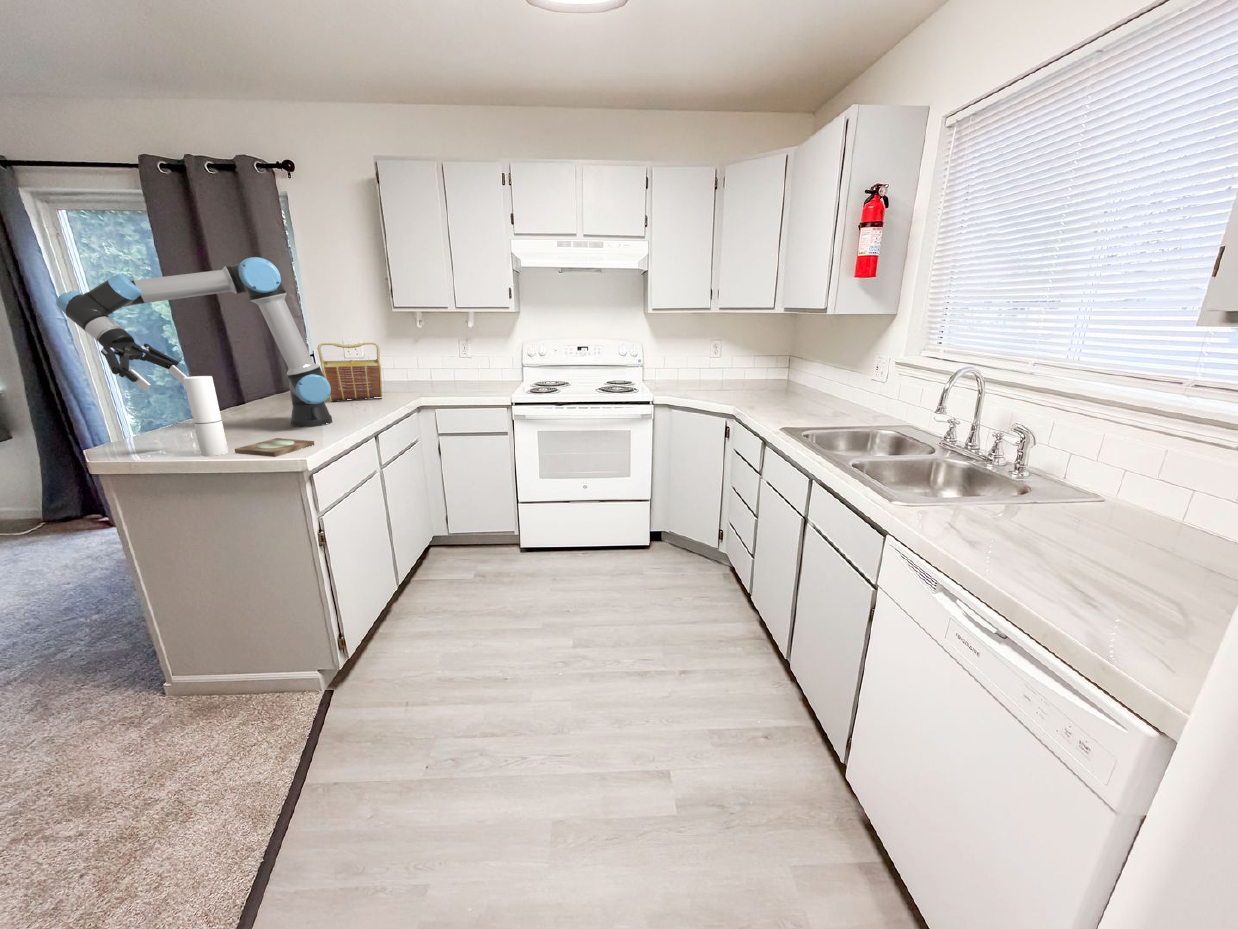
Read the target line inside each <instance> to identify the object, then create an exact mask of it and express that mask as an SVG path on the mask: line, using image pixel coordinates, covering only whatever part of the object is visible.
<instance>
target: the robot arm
mask: <svg viewBox="0 0 1238 929" xmlns="http://www.w3.org/2000/svg"><path fill="white" fill-rule="evenodd" d="M281 277H282V276H281V274H280V271H279V269H278V268H277V266H275V265H274V264H273V263H272V262H271V261H270V260H267V259H265V258H262V257H257V256H254V257H248V258H244V260H242V261H241V262H240V263H236V264H233V265H228V266H227V265H225V266H223V268H222V269H218V270H209V271H200V272H195V273H194V272H193V273H185V274H176V275H175V274H174V275H167V276H157V277H150V278H142V279H135V280H134V279H133V280H129V279H128V278H127V277H126V276H125V275H124V274H121V273H119V274H116V275H114V276H112V277H109V278H108V279H107V280H105V281H103V282H102V283H100V284H98V285H97V286H96V287H95V286H94V288H92V289H91V290H89V291H87V292H84V293H82V292H81V291H77V290H70V291H68V292H64V293H62V294H60V295H59V296H58V297H57V298H56V306H57V308H58V309H59V310H61V311H62V313H64V314H65V316H66V317H67V318H69V319H70V320H71V321H73V323H75V324H76V325H77V326H78V327H79V328H81V329H82V330H83V331H85V333H87V334H88V335H89V336H91V338H93V339H94V340H95V341H96V342H98V343H99V344H100V345H101V346H102V349H101V350H100V353H101V354H102V355H103V356H104V357H105V360H106V361H107V364H108V366H109V369H110V372H111V373H112V375H118V376H119V377H120V378H124V377H125V378H127V379H128V380H129V381H130V382H132V383H134V384H135V385H137V387H139V388H140V389H141V390H142V391H143V392H147V391H148V389H150V387H151V386H152V384H151V383H150V382H148V381H147V380H146V379H145V378H144V377H143V376H141V374H139V373H138V372H137V371H136V370H134V369H130V361H134V360H137V361H138V360H139V361H143V362H145V361H146V362H149V363H151V364H154V365H156V366H158V367H161V368H164V369H166V370H167V372H168V373H169V374H170V375H172V376H173V377H174V378H175V379H176V380H177V381H179V382H180V383H181V384H182V385H183V386H185V384H184V380H183V378H185V377H188V376H187V375H186V374H185V373H184V372H183V370H181V369H180V368H179V367H178V365H179V363H180V362H179V361H178V360H176V359H174V358H173V357H170V356H169V355H167V354H165V353H163V352H162V351H159V350H157V349H156V348H154V347H153V346H152V345H150V344H149V343H146V342H145V343H144V344H143V345H139V344H137V343H136V342H135V339H134V337H133V336H132V335H131V334H130V333H129V332H127V330H125V329H124V328H122V326H121V325H119V323H117V321H115V320H113V318H111V317H110V316H109V315H112V314H113V313H114V312H116V311H118V310H119V309H121V308H123V307H130V306H135V305H143V304H148V303H156V302H163V301H164V302H165V301H170V300H171V301H172V300H178V299H179V300H180V299H185V298H191V297H200V296H207V295H215V294H223V293H230V292H232V293H234V294H235V295H236V294H246V293H247V295H248V298H249V300H250V302H252V303H253V304H256V305H257V306H258V308H259V309H260V311H261V314H262V316H263V317H264V320H265V322H266V324H267V326H268V328H269V330H270V333H271V335H272V337H273V339H274V341H275V343H276V346H277V347H278V349H279V351H280V354H281V356H282V358H283V359H284V362H285V364H286V367H287V368H288V370H287V372H286V378H287V380H288V381H287V382H288V387H289V392H290V399H291V405H292V407H291V408H292V410H291V417H290V418H289V422H290V426H292V425H293V426H292V427H296V426H309V427H316V426H315V425H319V426H323V425H322V424H325V425H327V424H326V423H329V424H331V423H333V417H332V415H331V414H330V411H329V409H328V406H326V405H327V404H326V401H327V400H329V396H330V393H331V387H330V384H329V382H328V381H327V380H326V379H325V377H324V375H323V371H322V367H320V366H321V365H320V364H317V363H315V362H314V361H313V360H312V357H311V355H310V352H309V350H308V348H307V346H306V344H305V342H304V340H303V337H302V335H301V332H300V330H299V328H298V326H297V324H296V322H295V319H294V317H293V316H292V313H291V311H290V309H289V306H288V304H287V302H286V300H285V298H286V296H287V291H286V289H285V287H284V284H283V283H282V278H281ZM117 356H118V357H117ZM118 358H119V360H118Z"/></svg>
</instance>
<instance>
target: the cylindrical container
mask: <svg viewBox="0 0 1238 929" xmlns="http://www.w3.org/2000/svg"><path fill="white" fill-rule="evenodd" d="M183 380H184V384H185V385H184V388H185V392H186V395H187V399H188V400H187V401H188V404H189V409H190V413H191V417H192V421H193V425H194V430H195V436H196V438H197V443H198V448H199V450H200V451H199V452H200V455H202V457H215V455H218V456H222V455H221V454H223V455H226V454H228V453H229V452H230V451H229V447H228V443H227V438H226V434H225V430H224V424H223V418H222V415H221V411H220V407H219V401H218V397H217V393H216V387H215V384H214V379H213V376H212V375H197V376H196V375H195V376H187V377H185V378H183Z"/></svg>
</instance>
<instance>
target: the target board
mask: <svg viewBox="0 0 1238 929" xmlns="http://www.w3.org/2000/svg"><path fill="white" fill-rule="evenodd" d="M312 445H313V446H315V440H306V439H304V440H303V439H291V438H282V437H281V438H280V437H276V438H271V439H267V440H264V441H260V442H256V443H252V444H248V445H244V446H241V447H237V448H234V453H235V454H238V455H239V454H241V455H251V456H263V457H271V458H272V457H274V458H276V457H280V456H282V455H286V454H290V453H293V452H295V451H296V452H297V451H299V449H300V450H302V449H301V448H303V449H307V448H310V447H313V446H312ZM309 446H310V447H309ZM306 447H307V448H306Z"/></svg>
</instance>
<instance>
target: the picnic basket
mask: <svg viewBox="0 0 1238 929" xmlns="http://www.w3.org/2000/svg"><path fill="white" fill-rule="evenodd" d="M364 345H374V346H375V347H376V359H359V360H358V359H357V360H356V359H355V360H353V359H350V360H324V358H323V353H322V350H321V349H322V348H321V347H323V346H334V347H337V348H344V349H348V348H349V349H354V348H360V347H362V346H364ZM317 352H318V357H319V360H320V366H321V371H322V373H323V375H324V377H325V379H326V380H327V381H328V382H329V384H330V387H331V393H330V396H329V397H328V400H329V402H330V401H332V402H338V401H337V400H344V401H348V400H347V399H361V400H366V399H365V398H374V397H382V398H383V386H382V384H383V383H382V382H383V381H382V363H381V360H380V346H379V344H377V342H376V343H375V342H360V343H356V344H341V343H336V342H335V343H334V342H323V343H320V344H318V345H317Z"/></svg>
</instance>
